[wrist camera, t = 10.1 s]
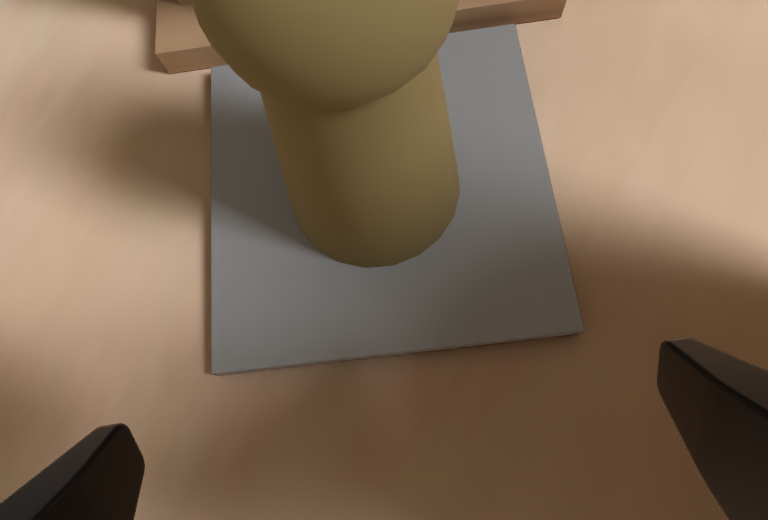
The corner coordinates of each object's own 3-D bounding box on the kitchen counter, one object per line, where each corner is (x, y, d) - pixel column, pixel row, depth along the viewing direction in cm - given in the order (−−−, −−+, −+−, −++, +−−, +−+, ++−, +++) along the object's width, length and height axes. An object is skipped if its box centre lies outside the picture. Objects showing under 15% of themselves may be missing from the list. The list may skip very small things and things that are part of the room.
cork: (278, 262, 18) (79, 32, 8) (303, 110, 20) (168, -238, 10) (455, 273, 18) (491, 41, 7) (464, 116, 20) (503, -250, 9)
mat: (579, 333, 17) (584, 330, 17) (218, 375, 18) (211, 373, 17) (512, 34, 21) (514, 23, 21) (216, 77, 22) (211, 67, 21)
